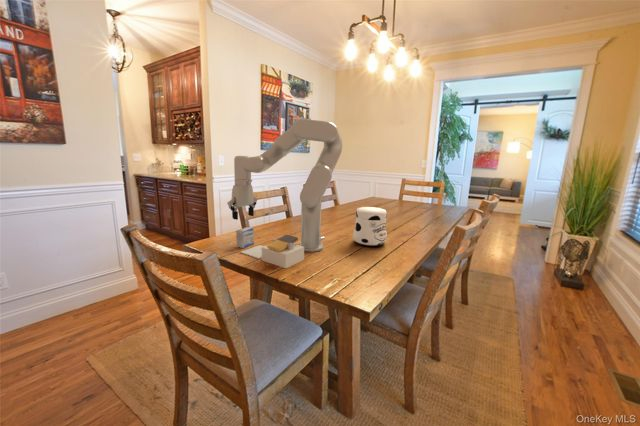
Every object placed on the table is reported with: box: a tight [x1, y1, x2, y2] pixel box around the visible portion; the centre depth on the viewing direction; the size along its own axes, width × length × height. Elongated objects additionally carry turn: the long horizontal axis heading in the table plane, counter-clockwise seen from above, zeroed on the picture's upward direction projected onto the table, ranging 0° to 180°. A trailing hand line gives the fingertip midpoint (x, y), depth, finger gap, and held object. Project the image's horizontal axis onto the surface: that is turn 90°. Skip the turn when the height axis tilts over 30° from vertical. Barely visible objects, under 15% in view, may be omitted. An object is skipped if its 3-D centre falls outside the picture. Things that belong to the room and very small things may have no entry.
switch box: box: [261, 238, 305, 269], centre depth 123 cm, size 12×14×9 cm
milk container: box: [352, 206, 388, 247], centre depth 146 cm, size 17×17×18 cm
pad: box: [240, 244, 264, 260], centre depth 132 cm, size 12×12×1 cm
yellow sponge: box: [267, 234, 299, 252], centre depth 122 cm, size 12×7×2 cm, turn 145°
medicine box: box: [235, 226, 255, 249], centre depth 139 cm, size 8×4×9 cm, turn 154°
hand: (243, 217), depth 137 cm, fingers open, 9 cm apart
